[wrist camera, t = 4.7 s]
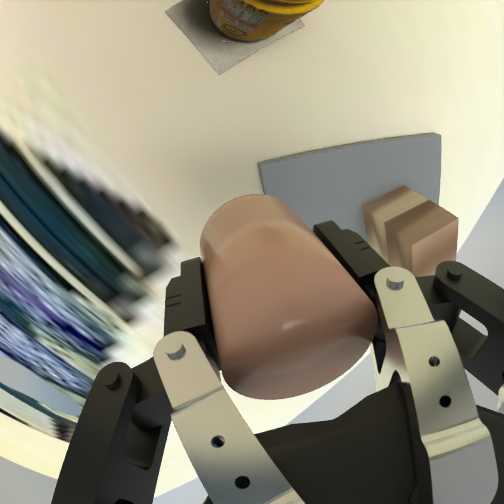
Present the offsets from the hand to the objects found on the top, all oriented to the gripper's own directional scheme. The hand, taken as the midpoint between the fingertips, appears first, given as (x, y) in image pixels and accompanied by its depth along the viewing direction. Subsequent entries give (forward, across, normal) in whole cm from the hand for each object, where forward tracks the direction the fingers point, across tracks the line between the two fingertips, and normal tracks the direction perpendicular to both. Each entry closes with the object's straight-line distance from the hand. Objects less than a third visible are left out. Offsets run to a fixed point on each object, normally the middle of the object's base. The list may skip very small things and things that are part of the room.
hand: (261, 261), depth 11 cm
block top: (+9, -15, +8) cm, 19 cm away
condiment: (+15, -4, -13) cm, 20 cm away
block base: (+13, -15, +8) cm, 21 cm away
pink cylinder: (+1, 0, 0) cm, 1 cm away
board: (+14, -13, +6) cm, 20 cm away
